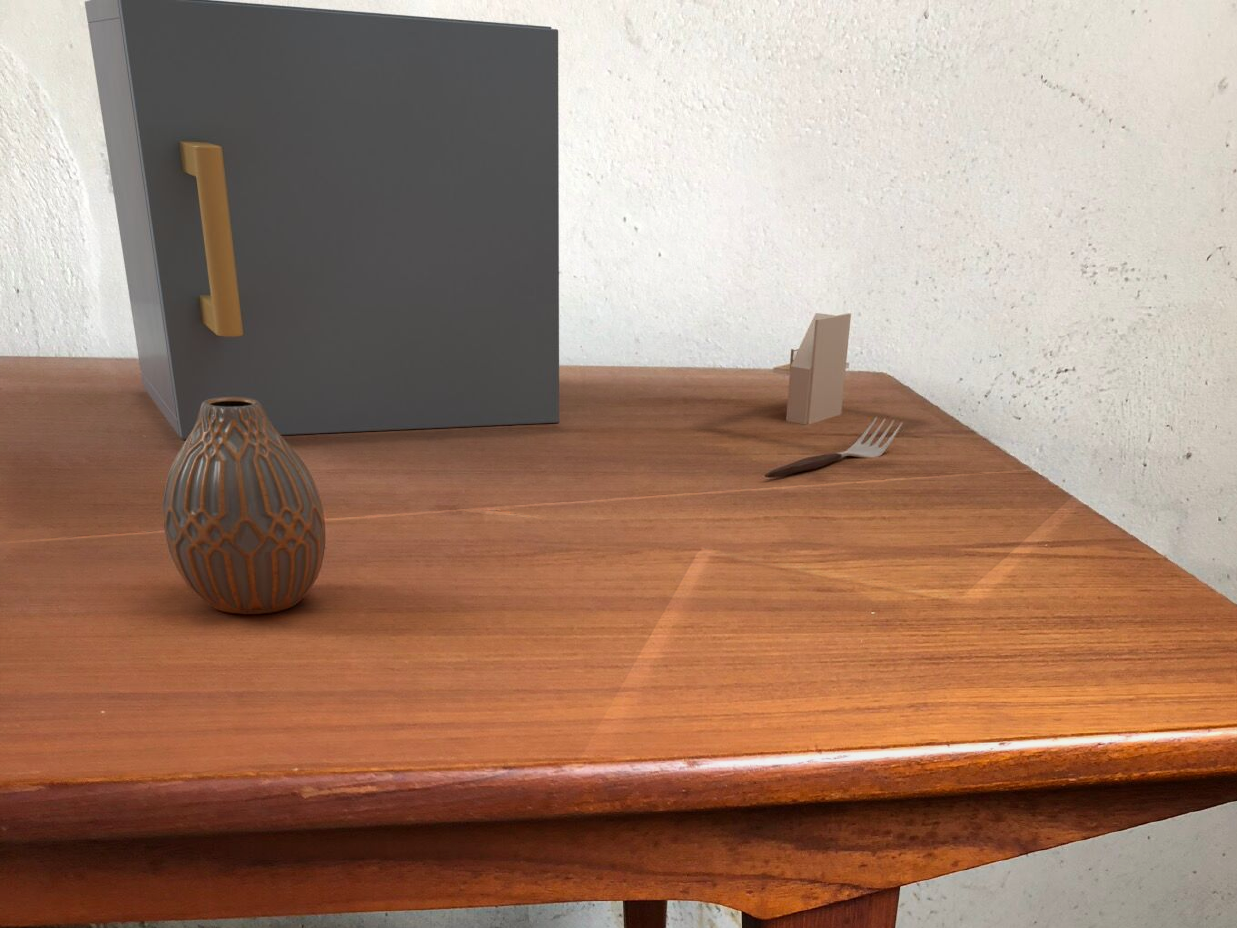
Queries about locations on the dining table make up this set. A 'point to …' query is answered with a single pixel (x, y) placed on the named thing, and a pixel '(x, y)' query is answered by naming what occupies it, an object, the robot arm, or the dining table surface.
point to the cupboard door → (351, 213)
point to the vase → (243, 512)
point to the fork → (840, 453)
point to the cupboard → (132, 191)
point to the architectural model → (818, 370)
